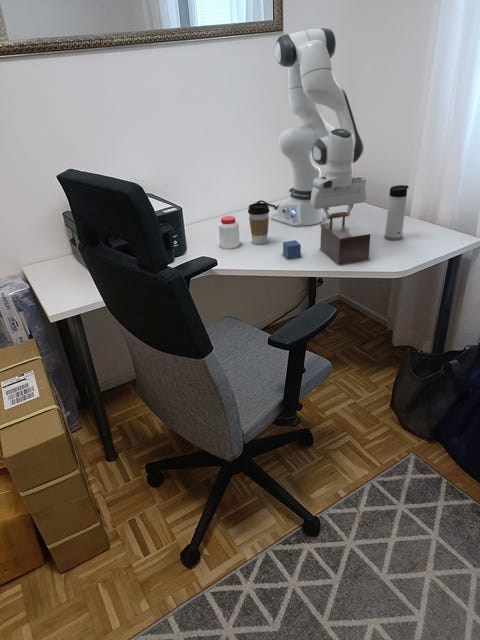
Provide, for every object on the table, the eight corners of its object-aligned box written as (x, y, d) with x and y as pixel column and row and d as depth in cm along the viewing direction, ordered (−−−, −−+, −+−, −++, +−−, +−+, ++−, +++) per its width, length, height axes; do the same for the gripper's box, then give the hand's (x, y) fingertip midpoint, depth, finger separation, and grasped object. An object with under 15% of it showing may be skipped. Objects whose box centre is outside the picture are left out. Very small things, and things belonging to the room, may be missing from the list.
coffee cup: (246, 244, 193) (244, 207, 185) (253, 237, 200) (251, 200, 192) (266, 246, 190) (265, 208, 183) (273, 238, 197) (272, 201, 190)
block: (287, 259, 178) (287, 246, 176) (283, 254, 183) (282, 241, 180) (300, 257, 179) (300, 244, 177) (295, 252, 184) (295, 239, 181)
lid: (320, 226, 181) (320, 213, 179) (348, 221, 184) (349, 208, 181) (339, 241, 167) (340, 227, 165) (370, 236, 170) (371, 222, 167)
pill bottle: (232, 249, 189) (231, 222, 184) (216, 246, 193) (214, 219, 187) (243, 243, 195) (241, 216, 189) (227, 240, 198) (225, 213, 193)
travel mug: (403, 240, 188) (409, 188, 178) (385, 240, 190) (390, 188, 179) (401, 234, 193) (408, 183, 183) (384, 234, 195) (389, 183, 185)
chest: (320, 249, 185) (321, 226, 181) (348, 244, 187) (349, 222, 183) (338, 264, 172) (339, 241, 168) (368, 259, 174) (370, 236, 170)
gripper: (362, 173, 177) (359, 211, 184) (309, 180, 173) (308, 218, 180) (370, 177, 172) (367, 216, 179) (316, 184, 167) (315, 223, 174)
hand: (337, 217), depth 179 cm, fingers closed on lid, 6 cm apart
